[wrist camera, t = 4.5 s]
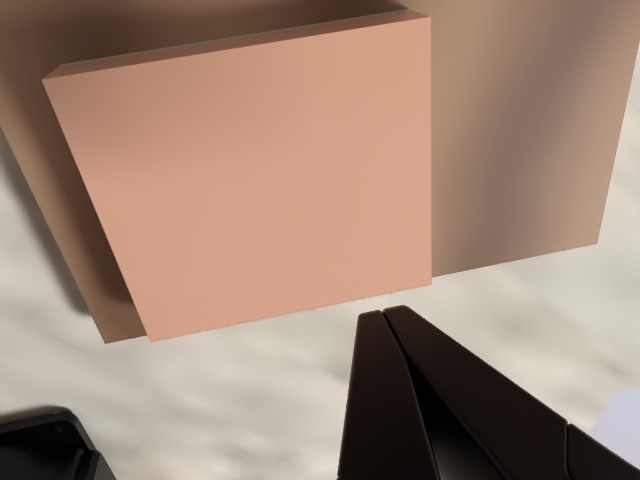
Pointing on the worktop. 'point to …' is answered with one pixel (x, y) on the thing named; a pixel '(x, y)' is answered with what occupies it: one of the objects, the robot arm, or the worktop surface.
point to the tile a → (259, 168)
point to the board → (446, 116)
